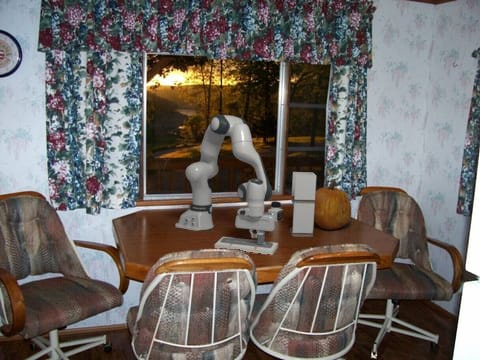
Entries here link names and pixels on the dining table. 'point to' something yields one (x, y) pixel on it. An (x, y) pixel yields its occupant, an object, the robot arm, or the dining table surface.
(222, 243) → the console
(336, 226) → the pumpkin
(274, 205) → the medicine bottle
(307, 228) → the light grey rectangular tower
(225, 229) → the dining table surface
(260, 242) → the fader tab
